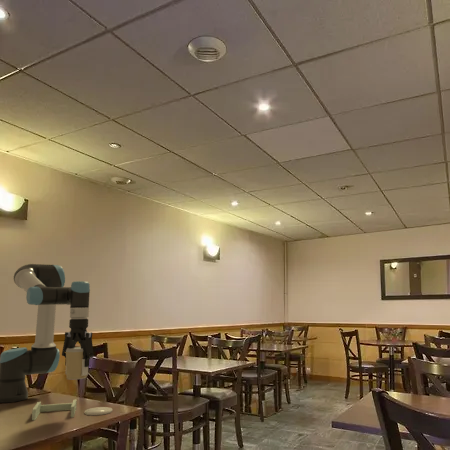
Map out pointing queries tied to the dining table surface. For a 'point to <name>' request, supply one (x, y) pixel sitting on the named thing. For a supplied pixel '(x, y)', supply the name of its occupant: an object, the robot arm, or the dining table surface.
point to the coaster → (98, 411)
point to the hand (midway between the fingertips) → (76, 374)
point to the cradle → (53, 408)
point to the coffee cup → (74, 363)
